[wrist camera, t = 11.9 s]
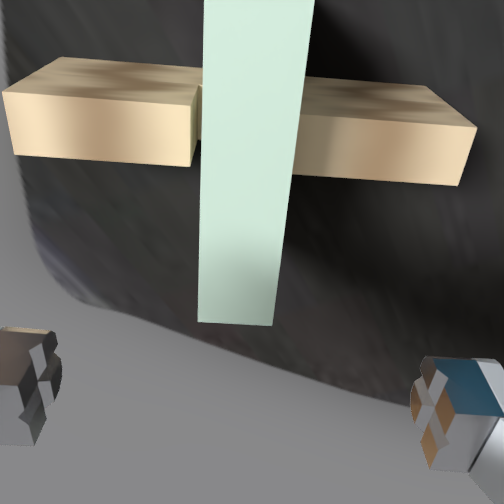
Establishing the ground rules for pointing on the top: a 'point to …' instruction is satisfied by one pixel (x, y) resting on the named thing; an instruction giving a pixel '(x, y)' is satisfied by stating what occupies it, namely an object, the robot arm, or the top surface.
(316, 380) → the top surface
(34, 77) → the oak board
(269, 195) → the sage plate
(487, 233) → the top surface
